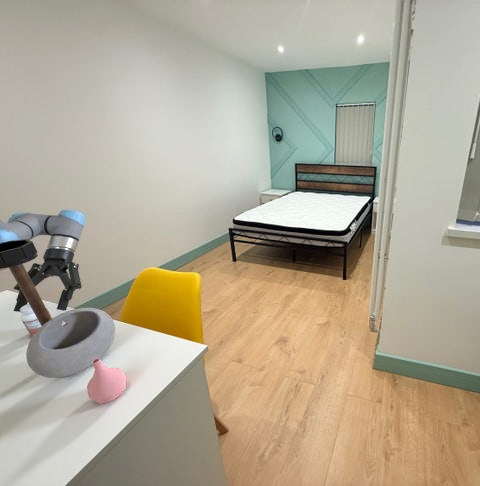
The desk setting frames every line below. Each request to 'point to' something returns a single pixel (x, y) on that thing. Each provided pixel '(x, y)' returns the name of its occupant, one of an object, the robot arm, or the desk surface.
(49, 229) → the robot arm
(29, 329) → the pill bottle
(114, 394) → the pink vase
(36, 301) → the stand
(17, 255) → the holder
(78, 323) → the planter
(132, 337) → the desk surface
